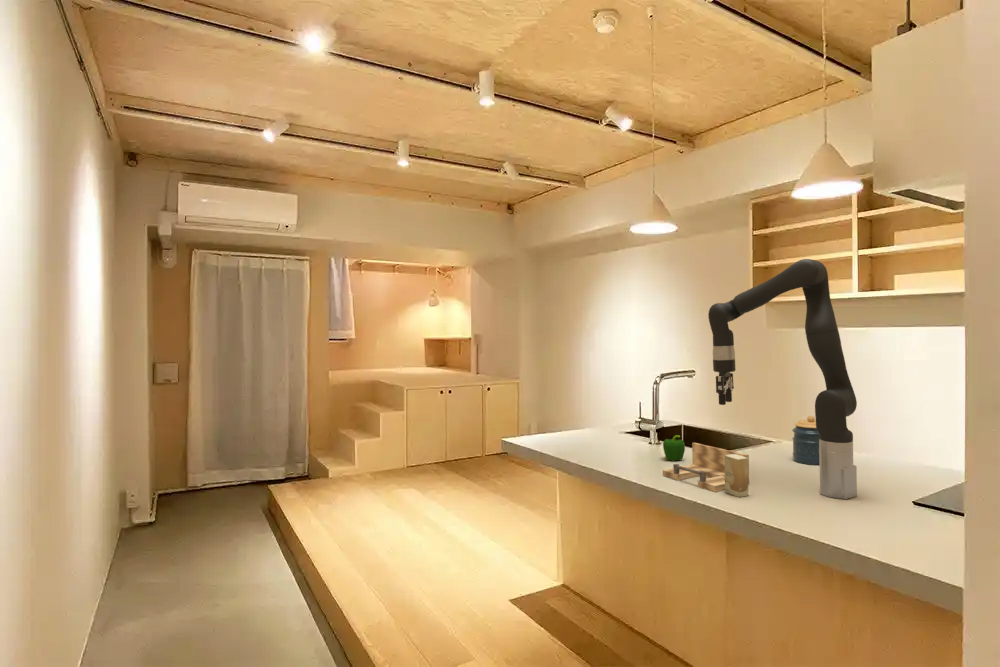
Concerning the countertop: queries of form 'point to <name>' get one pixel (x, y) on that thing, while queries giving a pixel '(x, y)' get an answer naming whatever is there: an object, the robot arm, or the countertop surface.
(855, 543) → the countertop surface
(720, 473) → the wooden stand with handle
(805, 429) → the canister
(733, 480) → the skincare box
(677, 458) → the bell pepper
